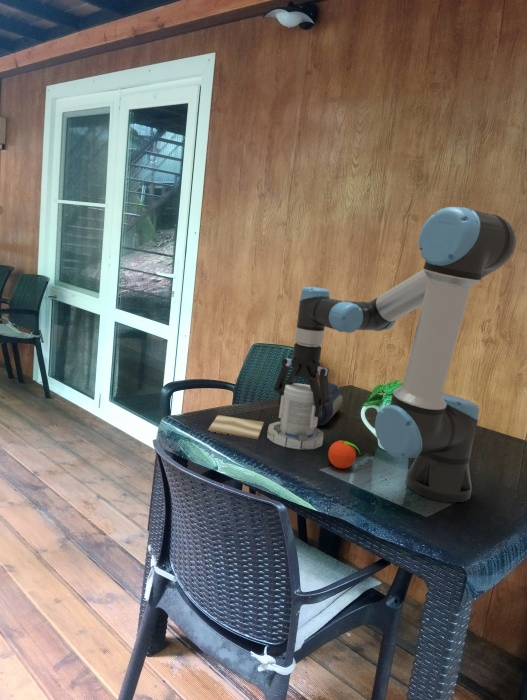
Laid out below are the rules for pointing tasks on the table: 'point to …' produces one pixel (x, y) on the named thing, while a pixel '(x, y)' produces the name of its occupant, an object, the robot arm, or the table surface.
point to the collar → (297, 442)
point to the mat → (236, 427)
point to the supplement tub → (297, 410)
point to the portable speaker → (331, 404)
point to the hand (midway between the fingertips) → (297, 422)
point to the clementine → (342, 454)
